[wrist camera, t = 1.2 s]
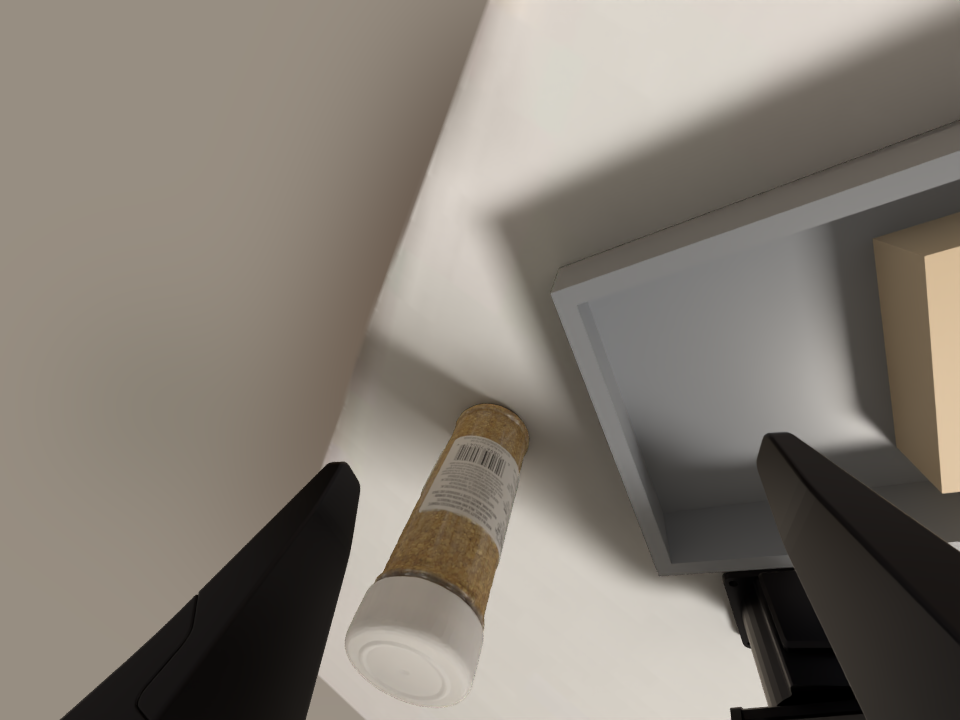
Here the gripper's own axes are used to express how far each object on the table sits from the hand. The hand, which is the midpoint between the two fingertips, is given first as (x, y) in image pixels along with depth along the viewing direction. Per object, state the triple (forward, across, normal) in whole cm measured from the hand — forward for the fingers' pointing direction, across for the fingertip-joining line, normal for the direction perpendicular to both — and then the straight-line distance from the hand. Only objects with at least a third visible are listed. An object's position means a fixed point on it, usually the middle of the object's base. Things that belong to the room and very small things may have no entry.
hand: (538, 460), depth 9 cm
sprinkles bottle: (+11, +4, +11) cm, 16 cm away
